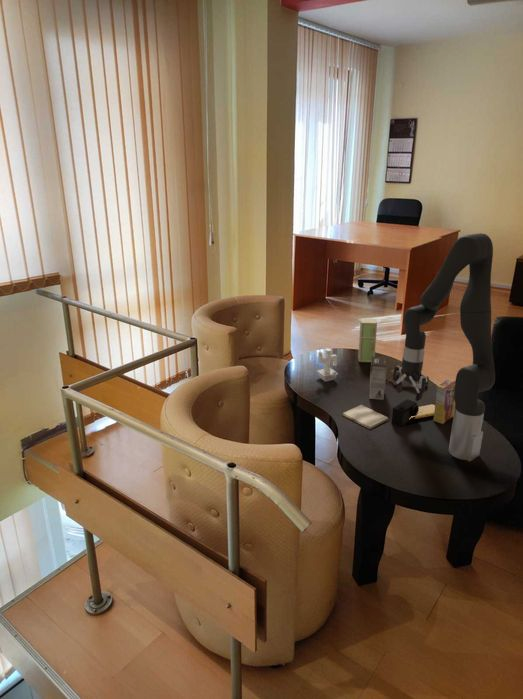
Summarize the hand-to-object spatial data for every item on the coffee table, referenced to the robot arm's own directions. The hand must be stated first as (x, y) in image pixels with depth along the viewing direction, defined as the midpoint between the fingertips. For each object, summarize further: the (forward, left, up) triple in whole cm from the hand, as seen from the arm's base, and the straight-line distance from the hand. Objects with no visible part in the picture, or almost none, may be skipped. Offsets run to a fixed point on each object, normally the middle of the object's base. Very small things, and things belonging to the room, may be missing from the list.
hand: (408, 396), depth 193 cm
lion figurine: (+21, -26, -11) cm, 36 cm away
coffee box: (+22, -9, -11) cm, 26 cm away
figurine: (+47, -4, -11) cm, 48 cm away
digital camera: (0, 0, -11) cm, 11 cm away
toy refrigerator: (+50, -35, -11) cm, 62 cm away
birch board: (+12, +10, -11) cm, 19 cm away
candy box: (-8, -13, -11) cm, 19 cm away
